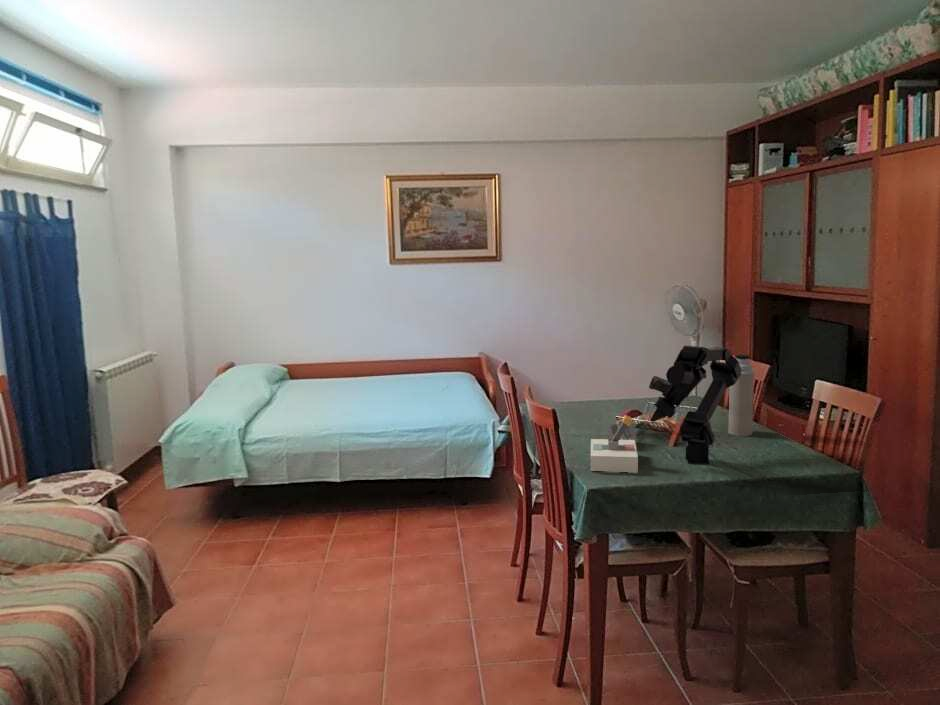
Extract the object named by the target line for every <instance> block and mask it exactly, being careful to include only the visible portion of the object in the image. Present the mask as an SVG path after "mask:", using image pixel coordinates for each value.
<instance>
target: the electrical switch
mask: <svg viewBox="0 0 940 705" xmlns="http://www.w3.org/2000/svg"><path fill="white" fill-rule="evenodd" d="M628 416H629V415H628ZM629 417H631V416H629ZM621 424H622V419H619V420H618V421H615V422H613V423H612V424H610V429H611V432H612V437H614V435H615V433H616V432H617V430H618V429H619V427H620V425H621ZM619 440H635V444H636V443H637V442H638V439H637V435H636V432H635V428H634V423H633V422H632V423H631V425H630V426H627V428H626V430H625V431H624V433H623V435H622V436H621V438H620V439H619Z"/></svg>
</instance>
